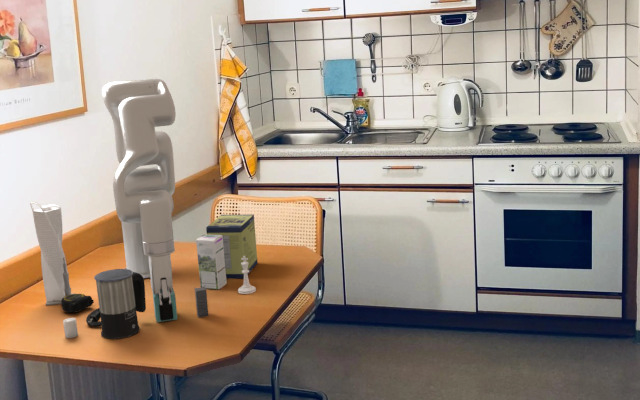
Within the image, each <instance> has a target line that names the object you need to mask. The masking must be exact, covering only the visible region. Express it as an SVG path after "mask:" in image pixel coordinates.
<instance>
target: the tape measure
mask: <svg viewBox="0 0 640 400" xmlns="http://www.w3.org/2000/svg"><path fill="white" fill-rule="evenodd" d="M93 304H94V299H93V298H92V296H91V295H85V294H84V293H76V294H73V293H71V295H68V296H65V297H64V298H62V300H61V304H60V305H61V309H62V311H63V312H64V313H78V312H81V311H83V310H86V309H87V308H90V307H91V306H93Z"/></svg>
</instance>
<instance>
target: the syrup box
mask: <svg viewBox="0 0 640 400" xmlns="http://www.w3.org/2000/svg"><path fill="white" fill-rule="evenodd" d="M195 245H196V251H197V252H196V253H197V262H198V263H197V266H198V274H199V285H200V287H205V288H206V290H220V289H222V288H223V287H224V286H225V285H227V282H228V281H227V279H226V271H225V260H224V247H223V236H222V235H207V234H203V235H200V236H199V237H198V238H196V240H195Z"/></svg>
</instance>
